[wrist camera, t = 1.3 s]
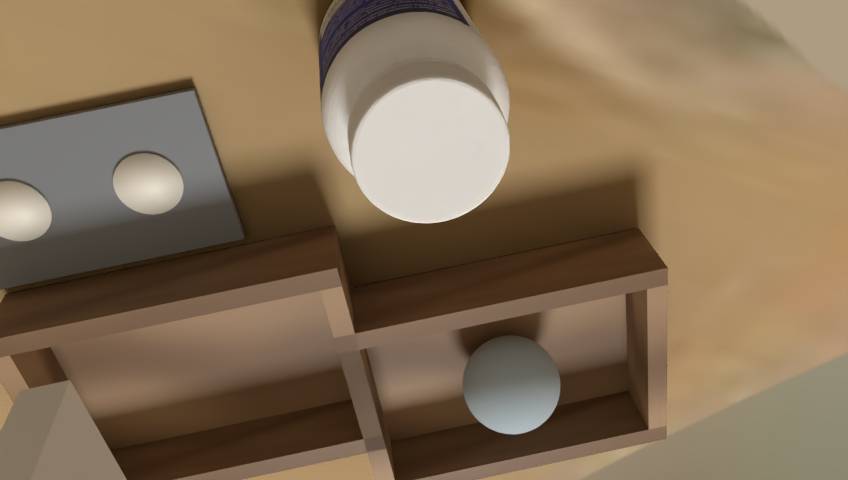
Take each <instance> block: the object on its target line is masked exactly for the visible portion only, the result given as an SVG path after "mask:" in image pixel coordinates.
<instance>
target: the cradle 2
mask: <svg viewBox="0 0 848 480" xmlns="http://www.w3.org/2000/svg"><path fill="white" fill-rule="evenodd" d="M351 290H352V303H353V316H354V329H355V334H354V335H353V334H352V335H350V337H349V335H346V336H341V337H342V338H341V337H340V338H339V337H337V338H334V340H335V339H336V340H335V344H337V346H336V347H337V351H338V354H339V357H340V354H341V351H342V353H347V352H349V351H350V352H351V351H353V350H354V351H355V350H356V351H357V350H358V351H360V353H359V355H360V354H361V358H362V363H363V367H364V369H365V373H366V377H367V380H368V382H367V383H368V384H369V385H368V387H370V390H369V395H370V391H371V395H372V400H373V405H374V406H375V409H376V413H377V417H378V418H377V420H379V423H378V424H377V423H376V425H379V424H380V427H379V428H377V431H378V429H379V430H380V428H381V433H380V431H379V433H380V436H381V434H382V426H381V417H383V419H382V420H383V424H384V433H385V442H386V449H380V450H379V448H378V447H379V446H378V447H377V446H376V447H377V448H378V449H376V451H375V449H374V450H373V449H372V448H373V447H374V445H375V444H376V443H377V442H376V441H375V442H376V443H374V441H373V443H374V445H373V444H372V443H371V444H372V445H373V447H372V448H370V451H371V449H372V451H371V452H370V451H369V450H368V452H367V453H368V457H369V460H370V464H371V467H372V470H373V474H374V477H375V480H477V479H481V478H486V477H491V476H495V475H500V474H505V473H509V472H514V471H519V470H523V469H528V468H533V467H537V466H542V465H546V464H551V463H556V462H560V461H565V460H570V459H574V458H579V457H584V456H588V455H593V454H598V453H602V452H607V451H612V450H616V449H621V448H626V447H630V446H635V445H639V444H644V443H649V442H653V441H658V440H663V439H666V435H667V292H668V268H667V266H666V265H665V264H664V262H663V261H662V259H661V258H660V257H659V255H658V254H657V253H656V251H655V250H654V249H653V247H652V246H651V244H650V243H649V242H648V240H647V239H646V238H645V236H644V235H643V234H642V232H641V231H640V229H639V228H637V229H633V230H628V231H623V232H618V233H613V234H609V235H604V236H599V237H594V238H589V239H585V240H580V241H575V242H570V243H566V244H561V245H556V246H551V247H546V248H542V249H537V250H532V251H527V252H522V253H518V254H513V255H508V256H503V257H499V258H494V259H489V260H484V261H479V262H475V263H470V264H465V265H460V266H455V267H451V268H446V269H441V270H436V271H432V272H427V273H422V274H417V275H412V276H408V277H403V278H398V279H393V280H388V281H384V282H379V283H374V284H369V285H365V286H360V287H355V288H351ZM507 335H514V336H521V337H525V338H528V339H530V340H532V341H534V342H536V343H537V344H539V345H540V346H541V347H543V348H544V349H545V350H546V351H547V352H548V353H549V355H550V356H551V357H552V359H553V361H554V362H555V364H556V366H557V369H558V372H559V377H560V395H559V399H558V403H557V405H556V407H555V409H554V411H553V413H552V414H551V416H550V417H549V418H548V419H547V420H546V421H545V422H544V423H543V424H542V425H540V426H539V427H537V428H535V429H533V430H531V431H529V432H526V433H521V434H504V433H499V432H496V431H494V430H492V429H490V428H488V427H486V426H485V425H483V424H482V423H481V422H479V421H478V420H477V419H476V418H475V416H474V415H473V414H472V412H471V411H470V409H469V407H468V405H467V403H466V401H465V397H464V393H463V375H464V370H465V367H466V365H467V362H468V360H469V359H470V357H471V355H472V354H473V353H474V352H475V351H476V350H477V349H478V348H479V347H480V346H481V345H482V344H484V343H485V342H487V341H489V340H491V339H494V338H496V337H500V336H507ZM352 336H354V337H352ZM345 338H346V339H345ZM351 338H352V339H351ZM355 338H356V340H355ZM348 339H351V340H352V341H351V340H348ZM353 339H354V340H353ZM341 340H342V341H341ZM346 340H347V341H346ZM344 341H345V342H344ZM356 341H357V342H356ZM338 342H339V343H338ZM342 343H343V346H339V345H342ZM344 343H345V345H344ZM354 343H355V345H354ZM357 343H358V344H357ZM338 344H339V345H338ZM349 344H351V345H349ZM348 345H349V346H348ZM353 346H354V347H353ZM339 347H340V348H339ZM343 347H344V348H343ZM349 347H350V349H349ZM355 347H356V348H355ZM340 349H341V350H340ZM343 349H344V350H343ZM345 350H346V352H345ZM347 350H348V351H347ZM339 351H340V352H339ZM351 355H352V353H351ZM355 355H356V353H355ZM357 355H358V352H357ZM342 356H343V357H344V355H341V358H342ZM349 356H350V353H349ZM353 356H354V353H353ZM345 358H346V354H345ZM345 358H344V362H345ZM347 358H348V354H347ZM349 358H350V357H349ZM349 358H348V359H346V360H347V361H348V363H346V364H347V365H348V364H349V360H351V358H350V359H349ZM353 358H354V357H353ZM353 358H352V360H353ZM355 358H356V357H355ZM355 358H354V360H355ZM357 358H358V356H357ZM359 358H360V356H359ZM340 361H341V359H340ZM342 361H343V359H342ZM356 363H357V361H356ZM360 363H361V361H360ZM343 364H345V363H343ZM346 364H345V365H346ZM350 364H351V362H350ZM352 364H353V361H352ZM354 364H355V361H354ZM358 364H359V361H358ZM343 366H344V365H343ZM359 367H360V365H359ZM345 368H346V367H345ZM351 368H352V369H354V366H353V367H351ZM355 368H356V366H355ZM357 368H358V365H357ZM361 368H362V365H361ZM343 369H344V367H343ZM346 369H348V367H347V368H346ZM346 369H345V370H346ZM364 369H363V370H364ZM349 370H350V369H349ZM357 370H358V369H357ZM361 370H362V369H361ZM351 372H353V371H350V372H349V371H348V374H349V373H350V374H351ZM358 372H359V371H358ZM360 372H361V371H360ZM354 373H355V371H354ZM365 373H364V375H365ZM346 374H347V371H346ZM344 375H345V372H344ZM355 375H357V371H356V374H354V377H355ZM360 375H361V373H360ZM348 376H349V375H348ZM350 376H351V375H350ZM352 376H353V375H352ZM358 377H359V374H358ZM362 377H363V373H362ZM366 377H365V380H366ZM345 378H346V377H345ZM347 378H348V377H347ZM351 378H352V377H351ZM355 378H356V377H355ZM363 379H364V377H363ZM350 380H351V381H353V383H354V379H353V380H352V379H350ZM350 380H349V383H350ZM357 380H358V378H357ZM359 380H360V378H359ZM359 380H358V381H359ZM355 381H356V379H355ZM347 382H348V379H347ZM361 383H362V378H361ZM361 383H360V385H361ZM363 383H364V382H363ZM363 383H362V384H363ZM365 383H366V381H365ZM365 383H364V388H365ZM367 383H366V384H367ZM358 384H359V383H358ZM358 384H357V383H356V386H357V385H358ZM352 385H355V383H354V384H352ZM350 386H351V384H350ZM348 387H349V384H348ZM355 388H356V389H357V387H355ZM355 388H354V389H355ZM352 389H353V386H352ZM352 389H351V391H352ZM354 389H353V390H354ZM356 389H355V390H356ZM358 389H359V390H360V389H361V386H360V387H359V386H358ZM362 389H363V387H362ZM366 389H367V386H366ZM349 390H350V389H349ZM362 391H363V393H364V390H362ZM362 391H361V394H362ZM355 392H356V391H355ZM367 392H368V390H367ZM365 393H366V390H365ZM355 394H356V393H355ZM358 394H360V391H359V393H358V392H357V395H358ZM351 395H352V392H351ZM353 395H354V393H353ZM365 395H366V394H365ZM361 397H363V395H362V396H360V398H361ZM354 398H355V396H354ZM358 398H359V396H358ZM352 399H353V397H352ZM365 400H366V401H369V396H368V400H367V399H365V396H364V400H362V402H363V401H365ZM352 401H353V400H352ZM356 401H357V396H356ZM358 401H359V400H358ZM370 401H371V399H370ZM360 402H361V400H360ZM360 402H359V406H360ZM353 403H354V402H353ZM365 403H366V402H365ZM371 404H372V402H371ZM367 405H368V402H367ZM367 405H366V404H365V406H367ZM369 405H370V403H369ZM363 406H364V403H363ZM374 406H373V408H374ZM379 406H380V407H379ZM355 407H356V402H355ZM357 407H358V405H357ZM361 407H362V404H361ZM365 408H366V410H367V409H369V408H370V406H369V408H367V407H365ZM365 408H364V409H365ZM371 408H372V407H371ZM371 408H370V409H371ZM373 408H372V412H373ZM354 409H355V408H354ZM370 409H369V410H370ZM362 410H363V408H362ZM380 410H382V411H381V413H382V414H381V416H380ZM356 411H357V409H356ZM358 411H359V408H358ZM360 411H361V409H360ZM368 413H369V411H368ZM370 413H371V412H370ZM374 413H375V411H374ZM356 414H357V413H356ZM358 414H359V413H358ZM358 414H357V415H358ZM360 414H361V412H360ZM360 414H359V420H360ZM362 414H363V413H362ZM364 414H367V412H365V411H364ZM364 414H363V415H364ZM372 414H373V413H372ZM371 417H372V415H371ZM373 417H374V416H373ZM375 417H376V415H375ZM367 418H368V415H367ZM357 419H358V418H357ZM361 419H362V417H361ZM363 419H364V416H363ZM365 419H366V417H365ZM369 419H370V415H369ZM371 419H372V418H371ZM373 420H374V419H373ZM358 422H359V421H358ZM370 422H371V421H370ZM370 422H369V421H368V423H370ZM372 422H373V421H372ZM362 423H363V420H362ZM364 423H365V421H364ZM366 423H367V421H366ZM360 424H361V422H360ZM362 426H363V425H362ZM364 426H365V425H364ZM366 426H367V425H366ZM368 426H369V424H368ZM370 426H371V425H370ZM372 426H373V423H372ZM374 426H375V424H374ZM361 428H362V427H361ZM363 428H364V427H363ZM373 428H374V427H373ZM373 430H376V427H375V428H374V429H373ZM365 431H366V429H365ZM369 431H370V429H369ZM371 431H372V427H371ZM361 432H362V429H361ZM363 432H364V429H363ZM367 432H368V427H367ZM371 433H372V432H371ZM371 433H370V435H371ZM379 433H378V432H377V433H376V431H375V433H374V434H379ZM372 435H373V433H372ZM362 436H363V433H362ZM364 436H365V434H364ZM366 436H367V433H366ZM368 436H369V433H368ZM374 436H375V435H374ZM382 436H383V435H382ZM376 437H377V436H376ZM370 438H371V437H370ZM378 438H379V437H377V438H376V439H378ZM364 439H365V438H364ZM366 439H367V437H366ZM368 439H369V438H368ZM371 439H373V437H372V438H371ZM373 440H374V439H373ZM380 440H381V438H380ZM364 441H365V440H364ZM368 441H369V440H368ZM383 441H384V440H383ZM371 442H372V441H371ZM365 443H366V442H365ZM367 443H368V442H367ZM378 443H379V442H378ZM381 444H382V443H381ZM383 444H384V442H383ZM367 445H368V444H367ZM369 445H370V443H369ZM379 445H380V443H379ZM384 445H385V444H384ZM384 445H383V446H384ZM370 446H371V445H370ZM368 448H369V447H368ZM380 448H381V446H380ZM382 448H383V447H382ZM366 450H367V449H366ZM377 450H378V451H377Z"/></svg>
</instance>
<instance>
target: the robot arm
mask: <svg viewBox="0 0 848 480" xmlns="http://www.w3.org/2000/svg"><path fill="white" fill-rule="evenodd" d="M0 480H127V479H126V477H125V476H124V474H123V472H122V470H121V469H120V467H119V465H118V463H117V462H116V460H115V458H114V456H113V455H112V453H111V451H110V449H109V448H108V446H107V444H106V442H105V441H104V439H103V437H102V435H101V434H100V432H99V430H98V428H97V427H96V425H95V423H94V421H93V420H92V418H91V416H90V414H89V413H88V411H87V409H86V407H85V406H84V404H83V402H82V400H81V399H80V397H79V395H78V393H77V392H76V390H75V388H74V386H73V385H72V383H71V381H70V380H67V381H63V382H58V383H53V384H49V385H44V386H39V387H35V388H30V389H25V390H21V391H19V393H18V396H17V398H16V400H15V402H14V404H13V406H12V408H11V410H10V413H9V415H8V417H7V419H6V421H5V423H4V425H3V427H2V430H1V432H0Z"/></svg>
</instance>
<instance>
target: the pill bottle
mask: <svg viewBox="0 0 848 480" xmlns="http://www.w3.org/2000/svg"><path fill="white" fill-rule="evenodd" d="M319 70H320V95H321V100H320V101H321V114H322V121H323V125H324V129H325V133H326V136H327V139H328V141H329V143H330V145H331V147H332V149H333V151H334V153H335V154H336V156H337V157H338V159H339V161H340V162H341V163H342V164H343V166H344V167H345V168H346V169H347V170H348V171H349V172H350V173H351V174H352V175H354V176H355V179H356V181H357V184H358V185H359V187H360V188H361V190H362V192H363V193H364V194H365V196H366V197H367V198H368V199H369V200H370V201H371V202H372V203H373V204H374V205H375V206H376V207H378V208H379V209H380V210H382V211H383V212H385V213H387V214H389V215H391V216H393V217H395V218H398V219H401V220H404V221H408V222H414V223H437V222H443V221H447V220H451V219H454V218H457V217H459V216H462V215H464V214H466V213H468V212H469V211H471V210H472V209H474V208H476V207H477V206H478V205H480V204H481V203H482V202H483V201H484V200H485V199H486V198H487V197H489V195H490V194H491V193H492V192H493V191H494V189H495V188H496V186H497V185H498V183H499V182H500V180H501V178H502V176H503V174H504V172H505V169H506V166H507V163H508V159H509V152H510V137H509V130H508V126H507V122H508V116H509V106H510V100H509V90H508V84H507V80H506V77H505V75H504V72H503V69H502V66H501V64H500V62H499V60H498V58H497V57H496V55H495V54H494V52H493V50H492V49H491V48H490V46H489V45H488V43H487V42H486V41H485V39H484V38H483V36H482V35H481V33H480V32H479V31H478V29H477V28H476V26H475V25H474V23H473V22H472V20H471V18H470V17H469V15H468V14H467V12H466V11H465V9H464V7H463V6H462V4H461V3H460V1H459V0H334V1H333V2H332V4H331V5H330V7H329V9H328V10H327V13H326V15H325V17H324V20H323V22H322V26H321V30H320V35H319Z"/></svg>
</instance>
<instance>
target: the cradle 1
mask: <svg viewBox="0 0 848 480" xmlns="http://www.w3.org/2000/svg"><path fill="white" fill-rule="evenodd" d="M352 334H353V335H354V334H355V329H354V316H353V303H352V290H351V285H350V281H349V277H348V274H347V270H346V266H345V262H344V259H343V255H342V251H341V247H340V243H339V240H338V236H337V232H336V228H335V226H332V227H327V228H322V229H317V230H312V231H308V232H303V233H298V234H293V235H288V236H283V237H279V238H274V239H269V240H264V241H259V242H254V243H250V244H245V245H240V246H235V247H230V248H225V249H221V250H216V251H211V252H206V253H201V254H197V255H192V256H187V257H182V258H177V259H172V260H168V261H163V262H158V263H153V264H148V265H143V266H139V267H134V268H129V269H124V270H119V271H114V272H110V273H105V274H100V275H95V276H90V277H85V278H81V279H76V280H71V281H66V282H61V283H56V284H52V285H47V286H42V287H37V288H32V289H27V290H23V291H18V292H13V293H8V294H6V295H5V297H4V298H3V300H2V302H1V303H0V382H1V383H2V385H3V387H4V388H5V390H6V391H7V393H8V395H9V396H10V398H11V400H12V401H13V403H14V402H15V400H16V398H17V396H18V393H19V391H21V390H25V389H30V388H35V387H39V386H44V385H49V384H53V383H58V382H63V381H67V380H70V381H71V383H72V385H73V386H74V388H75V390H76V392H77V393H78V395H79V397H80V399H81V400H82V402H83V404H84V406H85V407H86V409H87V411H88V413H89V414H90V416H91V418H92V420H93V421H94V423H95V425H96V427H97V428H98V430H99V432H100V434H101V435H102V437H103V439H104V441H105V442H106V444H107V446H108V448H109V449H110V451H111V453H112V455H113V456H114V458H115V460H116V462H117V463H118V465H119V467H120V469H121V470H122V472H123V474H124V476H125V477H126V479H127V480H242V479H247V478H251V477H256V476H261V475H265V474H270V473H275V472H279V471H284V470H289V469H293V468H298V467H303V466H307V465H312V464H317V463H321V462H326V461H331V460H335V459H340V458H345V457H349V456H354V455H359V454H364V453H367V452H368V450H369V451H370V448H372V447H373V445H374V443H376V442H377V443H376V444H375V445H374V447H373V448H372V449H373V450H374V449H375V451H376V449H378V448H379V450H380V449H386V442H385V433H384V424H383V420H382V419H383V417H381V426H382V434H381V436H380V433H381V428H380V430H379V429H378V431H377V428H379V427H380V424H379V425H376V423H377V424H378V423H379V420H377V418H378V417H377V413H376V409H375V406H374V405H373V400H372V395H371V391H370V395H369V390H370V387H368V385H369V384H368V383H367V382H368V380H367V377H366V373H365V369H364V367H363V363H362V358H361V354H360V355H359V353H360V351H358V350H357V351H356V350H355V351H354V350H353V351H351V352H350V351H349V352H347V353H342V351H341V354H340V357H339V354H338V351H337V347H336V346H337V344H335V340H336V339H335V340H334V338H337V337H339V338H340V337H341V336H346V335H349V337H350V335H352ZM352 337H354V336H352ZM341 338H342V337H341ZM345 339H346V338H345ZM351 339H352V338H351ZM351 339H348V340H351ZM353 340H354V339H353ZM355 340H356V338H355ZM341 341H342V340H341ZM346 341H347V340H346ZM351 341H352V340H351ZM344 342H345V341H344ZM356 342H357V341H356ZM338 343H339V342H338ZM357 344H358V343H357ZM338 345H339V344H338ZM344 345H345V343H344ZM349 345H351V344H349ZM349 345H348V346H349ZM354 345H355V343H354ZM339 346H343V343H342V345H339ZM353 347H354V346H353ZM339 348H340V347H339ZM343 348H344V347H343ZM355 348H356V347H355ZM349 349H350V347H349ZM340 350H341V349H340ZM343 350H344V349H343ZM347 351H348V350H347ZM339 352H340V351H339ZM345 352H346V350H345ZM357 352H358V355H357ZM349 353H350V356H349ZM351 353H352V355H351ZM353 353H354V356H353ZM355 353H356V355H355ZM345 354H346V358H345ZM347 354H348V358H349V357H350V358H351V360H349V364H348V365H347V364H346V363H348V361H347V360H346V359H348V358H347ZM341 355H344V357H343V356H342V358H341ZM357 356H358V358H357ZM359 356H360V358H359ZM353 357H354V358H355V357H356V358H355V360H354V358H353ZM344 358H345V362H344ZM350 358H349V359H350ZM352 358H353V360H352ZM340 359H341V361H340ZM342 359H343V361H342ZM352 361H353V364H352ZM354 361H355V364H354ZM356 361H357V363H356ZM358 361H359V364H358ZM360 361H361V363H360ZM350 362H351V364H350ZM343 363H345V364H346V365H345V364H343ZM343 365H344V366H343ZM357 365H358V368H357ZM359 365H360V367H359ZM361 365H362V368H361ZM353 366H354V369H352V368H351V367H353ZM355 366H356V368H355ZM343 367H344V369H343ZM345 367H346V368H347V367H348V369H346V368H345ZM345 369H346V370H345ZM349 369H350V370H349ZM357 369H358V370H357ZM361 369H362V370H361ZM363 369H364V370H363ZM346 371H347V374H346ZM348 371H349V372H350V371H353V372H351V374H350V373H349V374H348ZM354 371H355V373H354ZM356 371H357V375H355V377H356V378H355V377H354V374H356ZM358 371H359V372H358ZM360 371H361V372H360ZM344 372H345V375H344ZM360 373H361V375H360ZM362 373H363V377H364V379H363V377H362ZM364 373H365V375H364ZM358 374H359V377H358ZM348 375H349V376H348ZM350 375H351V376H350ZM352 375H353V376H352ZM345 377H346V378H345ZM347 377H348V378H347ZM351 377H352V378H351ZM365 377H366V380H365ZM357 378H358V380H359V378H360V380H359V381H358V380H357ZM361 378H362V383H363V382H364V383H365V381H366V383H367V384H366V383H365V388H364V383H363V384H362V383H361ZM347 379H348V382H347ZM350 379H352V380H353V379H354V383H355V385H352V384H354V383H353V381H351V380H350ZM355 379H356V381H355ZM349 380H350V383H349ZM356 383H357V384H358V383H359V384H358V385H357V386H356ZM360 383H361V385H360ZM348 384H349V387H348ZM350 384H351V386H350ZM352 386H353V389H354V388H355V387H357V389H356V388H355V389H356V390H355V389H354V390H353V389H352ZM358 386H359V387H360V386H361V389H360V390H359V389H358ZM366 386H367V389H366ZM362 387H363V389H362ZM349 389H350V390H349ZM351 389H352V391H351ZM362 390H364V393H363V391H362ZM365 390H366V393H365ZM367 390H368V392H367ZM355 391H356V392H355ZM359 391H360V394H358V395H357V392H358V393H359ZM361 391H362V394H361ZM351 392H352V395H351ZM353 393H354V395H353ZM355 393H356V394H355ZM365 394H366V395H365ZM362 395H363V397H361V398H360V396H362ZM354 396H355V398H354ZM356 396H357V401H356ZM358 396H359V398H358ZM364 396H365V399H367V400H368V396H369V401H366V400H365V401H363V402H362V400H364ZM352 397H353V399H352ZM370 399H371V401H370ZM352 400H353V401H352ZM358 400H359V401H358ZM360 400H361V402H360ZM353 402H354V403H353ZM355 402H356V407H355ZM359 402H360V406H359ZM365 402H366V403H365ZM367 402H368V405H367ZM371 402H372V404H371ZM363 403H364V406H363ZM369 403H370V405H369ZM361 404H362V407H361ZM365 404H366V405H367V406H365ZM357 405H358V407H357ZM369 406H370V408H371V407H372V408H373V406H374V408H373V412H372V408H371V409H370V408H369ZM365 407H367V408H369V409H370V410H369V409H367V410H366V408H365ZM379 407H380V406H379ZM354 408H355V409H354ZM358 408H359V411H358ZM362 408H363V410H362ZM364 408H365V409H364ZM356 409H357V411H356ZM360 409H361V411H360ZM364 411H365V412H367V414H364ZM368 411H369V413H368ZM374 411H375V413H374ZM381 411H382V410H380V416H381V414H382V413H381ZM360 412H361V414H360ZM370 412H371V413H370ZM356 413H357V414H358V413H359V414H360V420H359V414H358V415H357V414H356ZM362 413H363V414H364V415H363V414H362ZM372 413H373V414H372ZM367 415H368V418H367ZM369 415H370V419H369ZM371 415H372V417H371ZM375 415H376V417H375ZM363 416H364V419H363ZM373 416H374V417H373ZM361 417H362V419H361ZM365 417H366V419H365ZM357 418H358V419H357ZM371 418H372V419H371ZM373 419H374V420H373ZM362 420H363V423H362ZM358 421H359V422H358ZM364 421H365V423H364ZM366 421H367V423H366ZM368 421H369V422H370V421H371V422H370V423H368ZM372 421H373V422H372ZM360 422H361V424H360ZM372 423H373V426H372ZM368 424H369V426H368ZM374 424H375V426H374ZM362 425H363V426H362ZM364 425H365V426H364ZM366 425H367V426H366ZM370 425H371V426H370ZM361 427H362V428H361ZM363 427H364V428H363ZM367 427H368V432H367ZM371 427H372V431H371ZM373 427H374V428H375V427H376V430H373V429H374V428H373ZM361 429H362V432H361ZM363 429H364V432H363ZM365 429H366V431H365ZM369 429H370V431H369ZM375 431H376V433H377V432H378V433H379V431H380V433H379V434H374V433H375ZM371 432H372V433H373V435H372V433H371ZM362 433H363V436H362ZM366 433H367V436H366ZM368 433H369V436H368ZM370 433H371V435H370ZM364 434H365V436H364ZM374 435H375V436H374ZM382 435H383V436H382ZM376 436H377V437H379V438H378V439H376V438H377V437H376ZM366 437H367V439H366ZM370 437H371V438H372V437H373V439H374V440H373V439H371V438H370ZM364 438H365V439H364ZM368 438H369V439H368ZM380 438H381V440H380ZM364 440H365V441H364ZM368 440H369V441H368ZM383 440H384V441H383ZM371 441H372V442H371ZM373 441H374V443H373ZM375 441H376V442H375ZM365 442H366V443H365ZM367 442H368V443H367ZM378 442H379V443H380V445H379V443H378ZM383 442H384V444H385V445H384V444H383ZM369 443H370V445H371V446H370V445H369ZM371 443H372V444H373V445H372V444H371ZM381 443H382V444H381ZM367 444H368V445H367ZM383 445H384V446H383ZM376 446H377V447H378V446H379V447H378V448H377V447H376ZM380 446H381V448H380ZM368 447H369V448H368ZM382 447H383V448H382ZM366 449H367V450H366ZM372 449H371V451H372ZM371 451H370V452H371ZM377 451H378V450H377Z"/></svg>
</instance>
